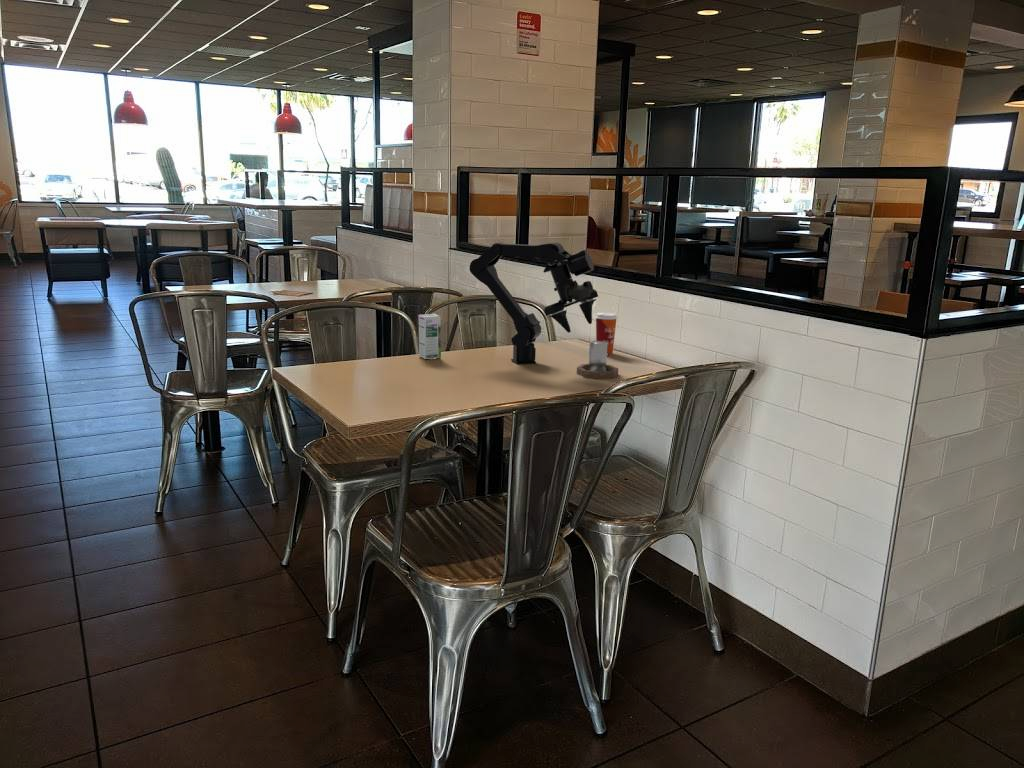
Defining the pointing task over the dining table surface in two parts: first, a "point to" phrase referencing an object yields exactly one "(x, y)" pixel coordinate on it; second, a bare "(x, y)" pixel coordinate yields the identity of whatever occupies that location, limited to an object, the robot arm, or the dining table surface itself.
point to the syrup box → (430, 336)
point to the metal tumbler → (597, 356)
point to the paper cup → (606, 329)
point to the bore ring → (609, 372)
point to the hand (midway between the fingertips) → (580, 328)
